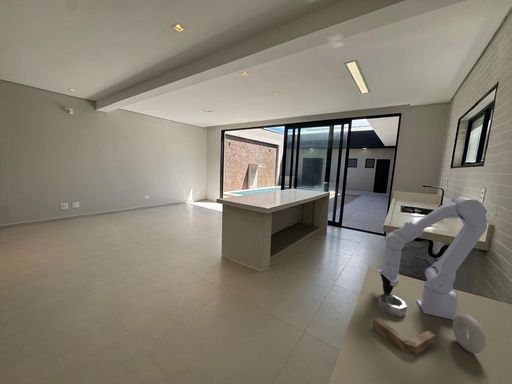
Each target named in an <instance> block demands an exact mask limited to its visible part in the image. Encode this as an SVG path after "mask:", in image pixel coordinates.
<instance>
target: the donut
mask: <svg viewBox="0 0 512 384" xmlns="http://www.w3.org/2000/svg"><path fill="white" fill-rule="evenodd" d="M452 331H453V334H454V337H455V339H456V342H457V343H458V344H459V345H460V346H461V347H462V349H464V350H465V351H466V352H468V353H472V354H480V353H482V352H483V351H484V350H485V348H486V345H487V344H486V343H487V339H486V334H485V331H484V329H483V328H482V326H481V324H480V323H479V322H478V320H476V318H474V317H473V316H472V315H470V314H465V313H460V314H457V315H455V318H454V320H452Z"/></svg>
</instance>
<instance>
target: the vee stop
mask: <svg viewBox="0 0 512 384" xmlns="http://www.w3.org/2000/svg"><path fill="white" fill-rule="evenodd" d="M372 328H373V329H374V330H375V331H376V332H378V333H379V334H380V335H382V337H384V338H386V339H387V341H389V342H391V344H393V345H394V346H396V348H398V349H399V350H401V351H402V352H403V354H407V355H410V356H414V357H417V355H418V354H419V353H422V352H423V351H424V350H426V349H428V348H429V347H431V346H433V345H434V344H435V340H436V334H435V333H433V332H431V331H430V330H426V331H425V332H422V333H420V334H419V335H416V336H415V337H413V338H411V339H410V340H409V339H407V338H406V336H404V335H403V334H401V333H400V332H398V331H397V330H395V329H394V328H393V327H391V326H390V325H388V324H387V323H386V322H384V321H383V320H381V319H380V318H379V317H376V318H373V320H372Z"/></svg>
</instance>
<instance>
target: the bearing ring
mask: <svg viewBox="0 0 512 384" xmlns="http://www.w3.org/2000/svg"><path fill="white" fill-rule="evenodd" d="M377 304H378V307H379V309H380V311H382V312H384V313H386V314H387V315H388V316H391V317H396V318H399V319H400V318H402V317H404V316H406V314H407V308H408V307H407V303H406V302H405V301H404V300H403V299H402V298H400V297H398V296H396V295H394V294H391V293H390V294H386V293H384V292H383V293H382V294H380V295H379V296H378V302H377Z"/></svg>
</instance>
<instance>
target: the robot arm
mask: <svg viewBox="0 0 512 384" xmlns="http://www.w3.org/2000/svg"><path fill="white" fill-rule="evenodd" d="M487 214H488V211H487V208H486V207H485V206H484V204H483V203H482V202H481V201H479V200H477V199H474V198H470V197H468V196H464V195H459V196H455V197H454V198H452V199H451V200H448V201H446V202H444V203H442V205H440V206H439V207H436V208H435V209H434V210H432V211H431V212H429V213H428V214H427V215H425V216H423V217H422V218H421V219H419V220H418V221H411V220H410V221H409V222H408V221H406V222H404V224H403V225H402V226H401V227H399V228H398V229H394V230H392V231H391V232H388V233H387V234H386V236H385V237H384V240H385V246H384V248H385V249H384V250H383V251H384V252H383V259H382V265H381V269H378V270H377V271H378V273H379V275H380V277H381V281H382V291H383V294H384V293H386V294H390V295H391V294H392V292H393V289H394V287H395V288H397V287H398V284H399V280H398V279H399V276H400V275H399V271H400V264H401V257H402V250H403V249H404V248H405V244H408V243H409V242H411V241H413V240H415V239H417V238H418V237H420V236H422V235H423V234H424V230H425V229H427V228H429V227H431V226H432V225H435V224H437V223H438V222H441V221H443V220H444V219H446V218H447V219H448V218H449V219H450V218H451V219H452V218H454V219H458V218H459V219H460V220H461V223H462V225H463V226H462V227H461V228H460V230H459V232H458V233H457V234H456V236H455V237H454V239H453V240H452V242H451V243H450V244H449V246H448V248H447V249H446V250H445V252H444V253H443V255H442V256H441V257H440V258H439V260H438V261H434V263H433V264H432V265H431V266H429V267H427V268H426V269H425V271H424V276H425V278H427V279H426V280H425V282H424V285H423V289H422V290H423V291H422V296H421V299H420V300H419V299H416V302H417V304H418V305H419V307H420V309H421V311H422V312H423V313H424V314H426V315H431V316H435V317H438V318H439V317H440V318H442V319H443V318H444V319H449V320H452V321H453V320H454V318H455V317H456V313H457V308H458V302H459V301H458V296H457V294H456V292H455V291H453V288H454V282H455V281H456V277H457V276H456V275H457V270H458V269H459V267H460V266H462V264H463V262H464V261H465V260H466V258H467V257H468V255H469V254H470V252H471V251H472V250H473V248H475V245H476V244H477V243H478V241H480V239H481V237H483V235H484V234H485V232H487V228H488V225H487Z"/></svg>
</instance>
